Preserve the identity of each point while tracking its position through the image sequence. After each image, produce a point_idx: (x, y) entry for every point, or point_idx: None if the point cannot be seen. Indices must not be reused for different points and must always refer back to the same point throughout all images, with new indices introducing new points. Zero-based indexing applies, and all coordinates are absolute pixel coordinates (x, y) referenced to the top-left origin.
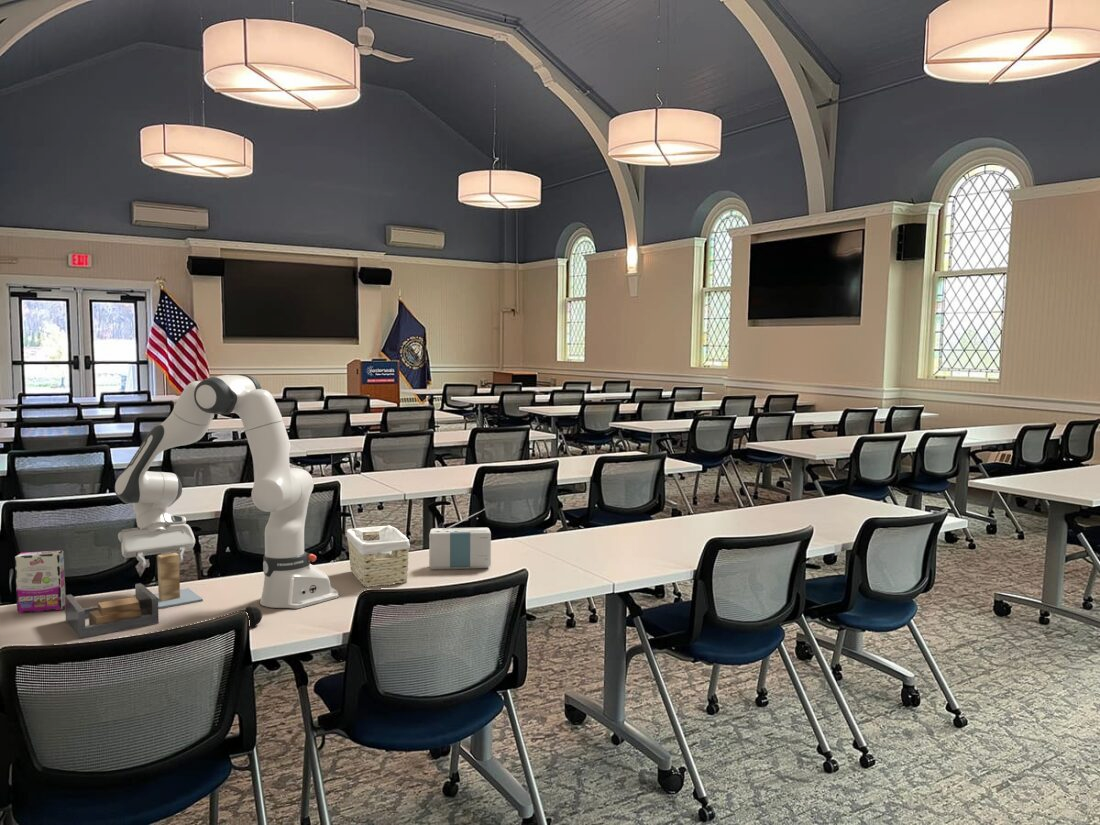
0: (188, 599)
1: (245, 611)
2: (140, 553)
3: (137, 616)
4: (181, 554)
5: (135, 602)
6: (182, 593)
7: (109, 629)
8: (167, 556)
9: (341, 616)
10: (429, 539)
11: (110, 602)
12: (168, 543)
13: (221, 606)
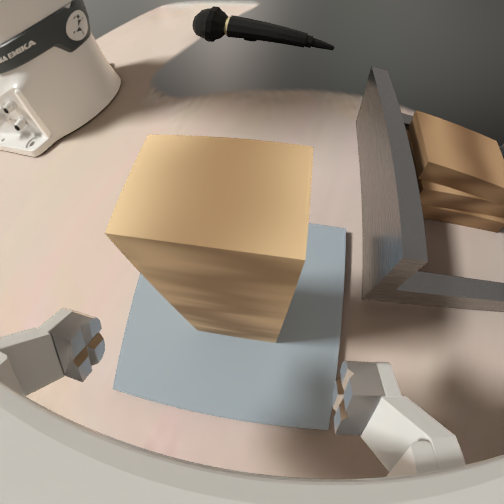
0: None
1: (223, 12)
2: (437, 457)
3: None
4: (40, 329)
5: (426, 115)
6: (167, 334)
7: None
8: (249, 139)
9: (110, 32)
10: None
11: (488, 167)
12: (25, 439)
13: None
